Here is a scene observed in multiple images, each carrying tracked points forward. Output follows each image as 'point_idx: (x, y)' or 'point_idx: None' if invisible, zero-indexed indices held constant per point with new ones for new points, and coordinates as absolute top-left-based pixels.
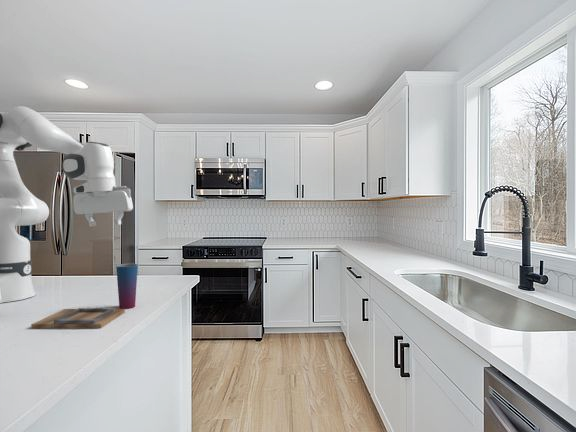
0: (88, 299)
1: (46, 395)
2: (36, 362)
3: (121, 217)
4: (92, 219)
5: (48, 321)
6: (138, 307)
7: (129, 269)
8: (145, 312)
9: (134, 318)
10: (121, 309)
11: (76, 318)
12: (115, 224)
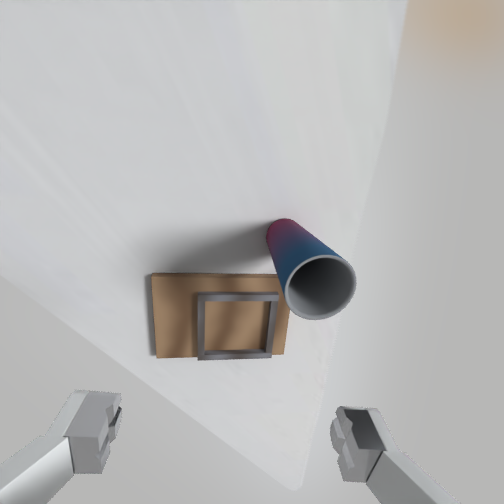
0: (132, 153)
1: (303, 471)
2: (255, 434)
3: (423, 487)
4: (42, 463)
5: (177, 345)
6: None
7: (332, 307)
8: None
9: None
10: None
11: (222, 331)
12: (335, 432)
